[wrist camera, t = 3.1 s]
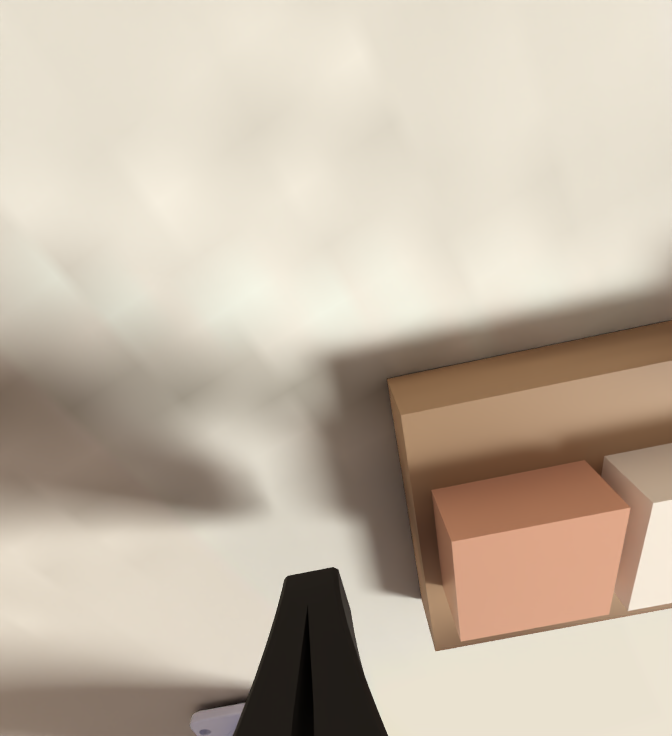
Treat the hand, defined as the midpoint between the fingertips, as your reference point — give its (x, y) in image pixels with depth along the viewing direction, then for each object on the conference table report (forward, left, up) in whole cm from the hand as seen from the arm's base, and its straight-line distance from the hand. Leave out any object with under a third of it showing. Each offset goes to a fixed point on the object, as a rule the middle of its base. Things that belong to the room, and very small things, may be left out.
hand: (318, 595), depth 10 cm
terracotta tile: (0, -5, -1) cm, 6 cm away
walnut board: (-1, -8, -3) cm, 8 cm away
